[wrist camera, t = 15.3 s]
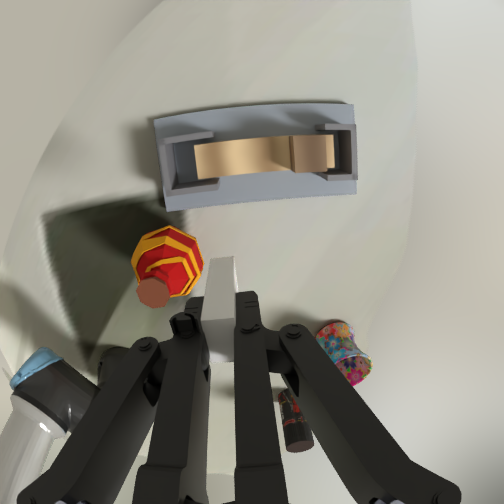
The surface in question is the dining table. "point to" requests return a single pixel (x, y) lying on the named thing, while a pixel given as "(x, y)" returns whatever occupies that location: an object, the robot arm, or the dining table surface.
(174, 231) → the potion bottle
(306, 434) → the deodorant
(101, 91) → the dining table surface
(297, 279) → the dining table surface
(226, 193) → the grey slat holder base
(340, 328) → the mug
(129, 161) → the dining table surface
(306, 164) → the tan stepped wooden block
